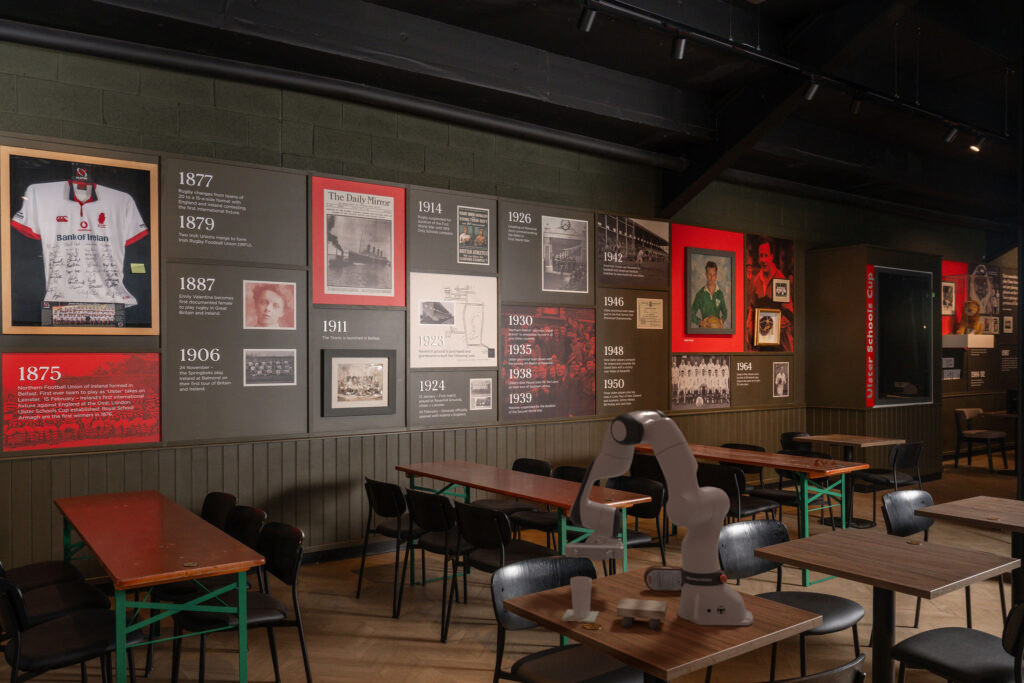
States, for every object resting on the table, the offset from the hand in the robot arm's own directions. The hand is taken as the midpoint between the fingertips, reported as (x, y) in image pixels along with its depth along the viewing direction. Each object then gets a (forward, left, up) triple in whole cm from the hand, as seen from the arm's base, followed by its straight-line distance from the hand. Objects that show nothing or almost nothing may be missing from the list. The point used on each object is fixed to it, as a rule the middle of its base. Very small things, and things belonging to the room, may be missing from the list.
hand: (591, 555), depth 247 cm
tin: (-23, -20, -16) cm, 34 cm away
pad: (+1, +15, -15) cm, 22 cm away
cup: (+1, +15, -15) cm, 21 cm away
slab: (-18, +16, -15) cm, 29 cm away
